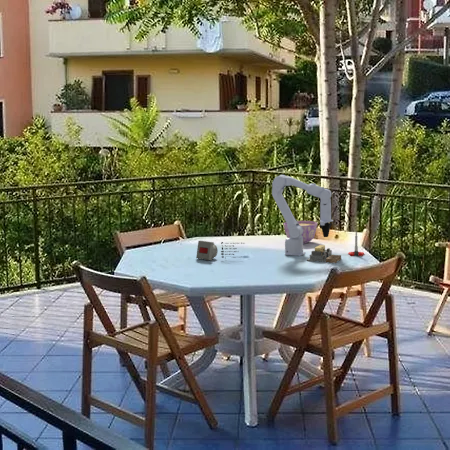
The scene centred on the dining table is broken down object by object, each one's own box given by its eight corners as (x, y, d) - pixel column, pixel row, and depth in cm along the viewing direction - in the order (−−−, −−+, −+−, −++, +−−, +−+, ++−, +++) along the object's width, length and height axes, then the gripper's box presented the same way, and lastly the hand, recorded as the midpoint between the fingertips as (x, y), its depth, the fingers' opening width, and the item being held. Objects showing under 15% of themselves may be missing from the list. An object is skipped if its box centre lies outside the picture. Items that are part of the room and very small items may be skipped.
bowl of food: (319, 245, 457) (319, 225, 456) (284, 246, 458) (284, 226, 456) (315, 239, 477) (315, 220, 476) (282, 240, 478) (282, 221, 476)
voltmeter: (194, 261, 420) (193, 242, 418) (198, 257, 431) (197, 239, 429) (244, 261, 416) (244, 242, 414) (246, 257, 427) (246, 239, 426)
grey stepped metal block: (307, 261, 412) (306, 251, 411) (316, 255, 427) (316, 245, 427) (325, 262, 408) (325, 252, 407) (334, 256, 424) (334, 246, 423)
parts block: (326, 262, 407) (326, 258, 407) (331, 258, 417) (331, 254, 417) (335, 262, 405) (335, 259, 405) (341, 258, 415) (341, 255, 415)
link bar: (314, 254, 412) (314, 247, 412) (319, 251, 420) (319, 244, 420) (320, 254, 411) (320, 248, 411) (325, 251, 419) (325, 245, 419)
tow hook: (348, 253, 432) (348, 256, 423) (348, 230, 430) (348, 232, 421) (363, 253, 430) (364, 256, 421) (364, 230, 429) (364, 232, 420)
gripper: (329, 213, 415) (329, 239, 417) (336, 210, 428) (336, 235, 430) (316, 213, 418) (316, 238, 420) (323, 209, 431) (324, 234, 433)
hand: (325, 236), depth 425 cm, fingers closed
